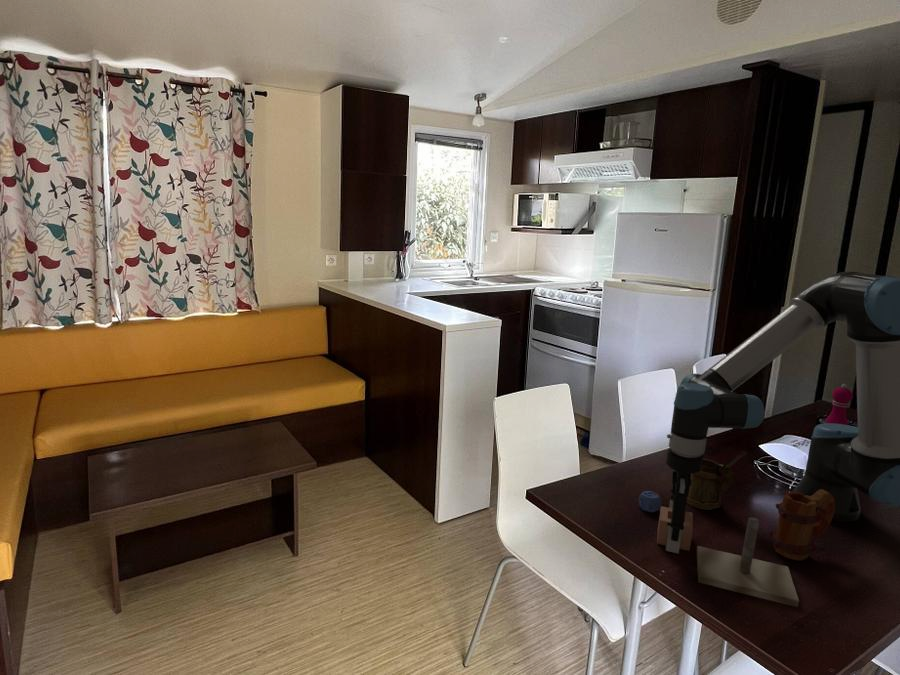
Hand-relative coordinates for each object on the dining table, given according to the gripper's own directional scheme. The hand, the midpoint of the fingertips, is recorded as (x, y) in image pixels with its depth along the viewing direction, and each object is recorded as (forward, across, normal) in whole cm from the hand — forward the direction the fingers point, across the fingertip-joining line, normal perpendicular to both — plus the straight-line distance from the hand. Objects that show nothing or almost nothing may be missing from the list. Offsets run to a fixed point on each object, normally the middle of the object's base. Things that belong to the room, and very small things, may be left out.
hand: (672, 538), depth 132 cm
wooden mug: (0, -22, +9) cm, 24 cm away
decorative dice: (+1, -13, -6) cm, 14 cm away
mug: (0, -7, +27) cm, 28 cm away
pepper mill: (0, -98, +54) cm, 112 cm away
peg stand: (0, +9, +14) cm, 17 cm away
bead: (0, 0, 0) cm, 0 cm away
